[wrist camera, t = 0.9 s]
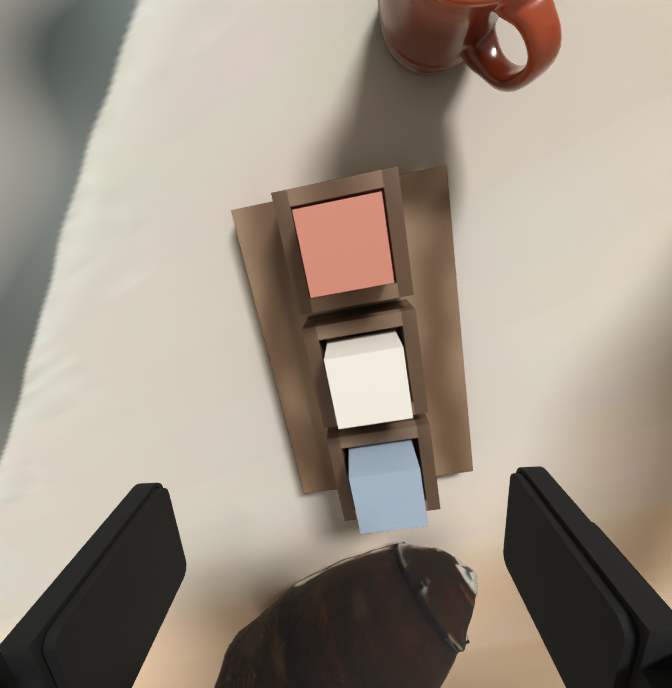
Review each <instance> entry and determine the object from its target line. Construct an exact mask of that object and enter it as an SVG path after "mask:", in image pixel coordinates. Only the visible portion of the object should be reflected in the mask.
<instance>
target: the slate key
mask: <svg viewBox="0 0 672 688" xmlns="http://www.w3.org/2000/svg"><path fill="white" fill-rule="evenodd" d="M349 481H350V486H351V491H352V496H353V500H354V505H355V510H356V514H357V519H358V524H359V529H360V533H361V534H365V533H374V532H382V531H390V530H399V529H407V528H415V527H423V526H428V522H427V515H426V508H425V500H424V493H423V486H422V479H421V472H420V467H419V464H418V460H417V457H416V454H415V451H414V447H413V444H412V441H411V439H404V440H397V441H390V442H383V443H376V444H369V445H362V446H355V447H349Z"/></svg>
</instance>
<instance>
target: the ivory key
mask: <svg viewBox="0 0 672 688" xmlns="http://www.w3.org/2000/svg"><path fill="white" fill-rule="evenodd" d="M324 363H325V368H326V372H327V377H328V382H329V387H330V391H331V396H332V401H333V406H334V410H335V415H336V420H337V425H338V429H343V428H349V427H356V426H363V425H370V424H376V423H383V422H390V421H397V420H403V419H410V418H413V414H412V407H411V399H410V392H409V385H408V378H407V371H406V363H405V356H404V349H403V345H402V343H401V341H400V339H399V337H398V335H397V333H396V331H395V330H392V331H386V332H381V333H375V334H369V335H363V336H357V337H351V338H346V339H340V340H334V341H328V342H327V347H326V352H325V357H324Z"/></svg>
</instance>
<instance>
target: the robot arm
mask: <svg viewBox="0 0 672 688" xmlns="http://www.w3.org/2000/svg"><path fill="white" fill-rule="evenodd" d="M503 554H504V560H505V564H506V567H507V569H508V571H509V573H510V575H511V577H512V579H513V581H514V583H515V585H516V587H517V589H518V591H519V593H520V595H521V597H522V599H523V601H524V603H525V605H526V607H527V609H528V611H529V613H530V615H531V617H532V619H533V621H534V624H535V626H536V628H537V630H538V632H539V634H540V636H541V638H542V640H543V642H544V644H545V646H546V648H547V650H548V652H549V654H550V656H551V658H552V660H553V662H554V664H555V666H556V668H557V670H558V672H559V674H560V676H561V678H562V680H563V682H564V684H565V686H566V688H672V610H671V608H670V607H669V606H668V605H667V604H666V603H665V602H664V601H663V599H662V598H661V597H660V596H659V595H658V594H657V593H656V591H655V590H654V589H653V588H652V587H651V586H650V585H649V584H648V582H647V581H646V580H645V579H644V578H643V577H642V576H641V574H640V573H639V572H638V571H637V570H636V569H635V568H634V567H633V565H632V564H631V563H630V562H629V561H628V560H627V559H626V557H625V556H624V555H623V554H622V553H621V552H620V551H619V550H618V548H617V547H616V546H615V545H614V544H613V543H612V542H611V540H610V539H609V538H608V537H607V536H606V535H605V534H604V533H603V531H602V530H601V529H600V528H599V527H598V526H597V525H596V524H595V523H593V522H591V521H590V520H589V519H588V517H587V516H586V515H585V514H584V513H583V512H582V511H581V509H580V508H579V507H578V506H577V505H576V504H575V503H574V501H573V500H572V499H571V498H570V497H569V496H568V495H567V493H566V492H565V491H564V490H563V489H562V488H561V487H560V485H559V484H558V483H557V482H556V481H555V480H554V479H553V477H552V476H551V475H550V474H549V473H548V472H547V470H546V469H544V468H543V467H520V468H518V469H517V471H516V473H513V474H511V476H510V485H509V496H508V507H507V517H506V528H505V539H504V550H503ZM185 572H186V559H185V555H184V551H183V547H182V543H181V539H180V535H179V531H178V527H177V523H176V519H175V515H174V511H173V507H172V503H171V499H170V495H169V492H168V490H167V489H166V488H163V486H162V485H161V484H160V483H141V484H137V485H135V486H134V487H133V488H132V489H131V491H130V492H129V493H128V494H127V495H126V497H125V498H124V499H123V500H122V501H121V502H120V504H119V505H118V506H117V507H116V508H115V509H114V511H113V512H112V513H111V514H110V515H109V517H108V518H107V519H106V520H105V521H104V522H103V524H102V525H101V526H100V527H99V528H98V530H97V531H96V532H95V533H94V534H93V535H92V537H91V538H90V539H89V540H88V541H87V542H86V544H85V545H84V546H83V547H82V548H81V550H80V551H79V552H78V553H77V554H76V555H75V557H74V558H73V559H72V560H71V561H70V563H69V564H68V565H67V566H66V567H65V568H64V570H63V571H62V572H61V573H60V574H59V575H58V577H57V578H56V579H55V580H54V581H53V583H52V584H51V585H50V586H49V587H48V588H47V590H46V591H45V592H44V593H43V594H42V596H41V597H40V598H39V599H38V600H37V601H36V603H35V604H34V605H33V606H32V607H31V608H30V610H29V611H28V612H27V613H26V614H25V616H24V617H23V618H22V619H21V620H20V621H19V623H18V624H17V625H16V626H15V627H14V629H13V630H12V631H11V632H10V633H9V634H8V636H7V637H6V638H5V639H4V640H3V641H2V643H1V644H0V688H132V686H133V684H134V682H135V680H136V678H137V676H138V674H139V671H140V669H141V667H142V665H143V663H144V661H145V659H146V657H147V655H148V652H149V650H150V648H151V646H152V644H153V642H154V640H155V638H156V636H157V633H158V631H159V629H160V627H161V625H162V623H163V621H164V619H165V617H166V614H167V612H168V610H169V608H170V606H171V604H172V602H173V600H174V597H175V595H176V593H177V591H178V589H179V587H180V585H181V583H182V581H183V578H184V576H185Z"/></svg>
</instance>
